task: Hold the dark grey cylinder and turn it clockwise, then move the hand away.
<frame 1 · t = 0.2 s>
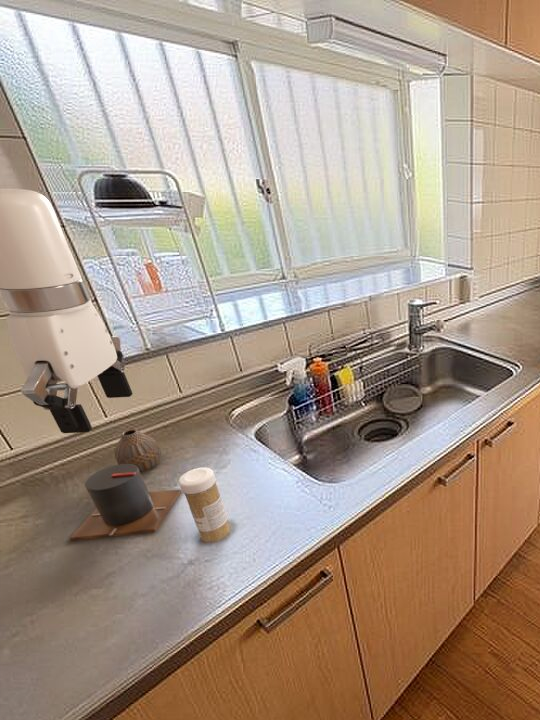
hand: (100, 412, 61), 25 cm above the counter, tool pointing down, fingers open, 9 cm apart
vase: (144, 468, 87), on the counter
turntable: (132, 518, 75), on the counter
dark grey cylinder: (120, 493, 72), point 6 cm above the counter, hinge at 0.0°
sprinkles bottle: (218, 537, 73), on the counter
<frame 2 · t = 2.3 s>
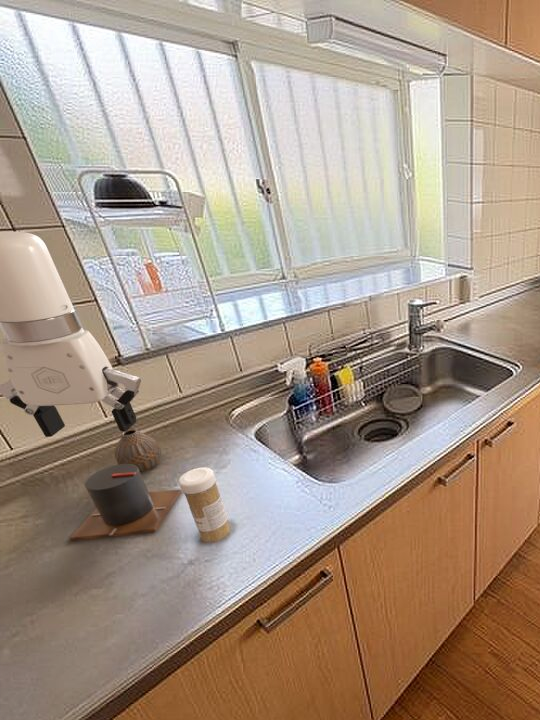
hand: (93, 429, 66), 19 cm above the counter, tool pointing down, fingers open, 9 cm apart
nothing on the counter moved.
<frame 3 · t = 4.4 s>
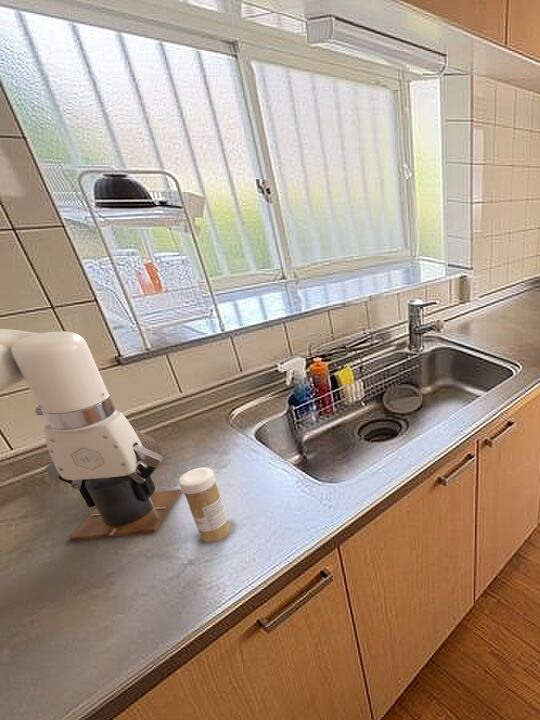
hand: (122, 498, 73), 5 cm above the counter, tool pointing down, fingers closed on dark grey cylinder, 6 cm apart
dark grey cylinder: (120, 493, 72), point 6 cm above the counter, hinge at 0.0°, touching gripper
everything else where it was.
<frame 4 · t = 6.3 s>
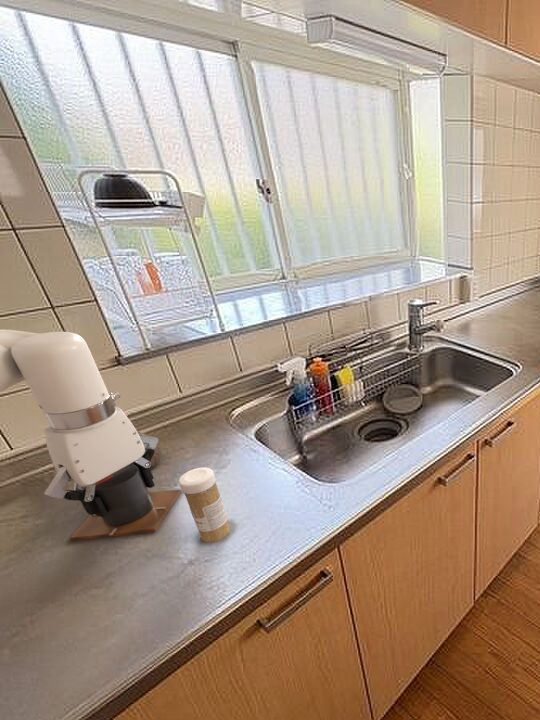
hand: (124, 498, 73), 5 cm above the counter, tool pointing down, fingers closed on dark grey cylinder, 7 cm apart
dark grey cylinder: (120, 493, 72), point 6 cm above the counter, hinge at -123.7°, touching gripper
everything else where it was.
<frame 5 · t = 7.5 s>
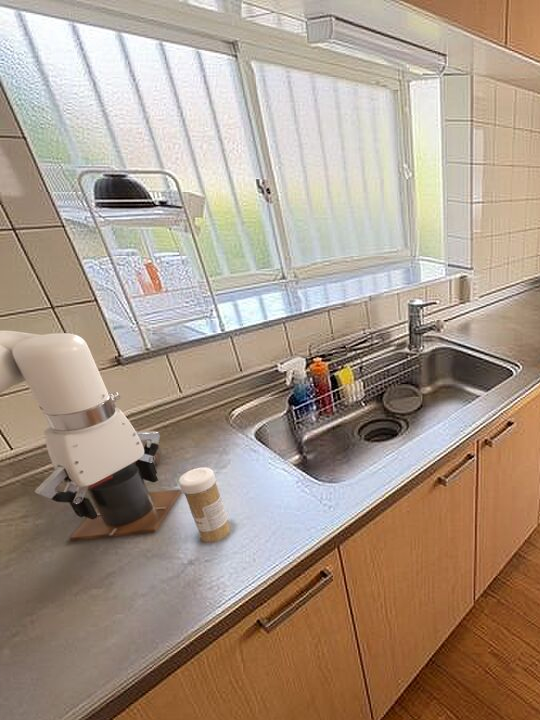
hand: (121, 497, 73), 5 cm above the counter, tool pointing down, fingers open, 9 cm apart
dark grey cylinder: (120, 493, 72), point 6 cm above the counter, hinge at -123.3°
everything else where it was.
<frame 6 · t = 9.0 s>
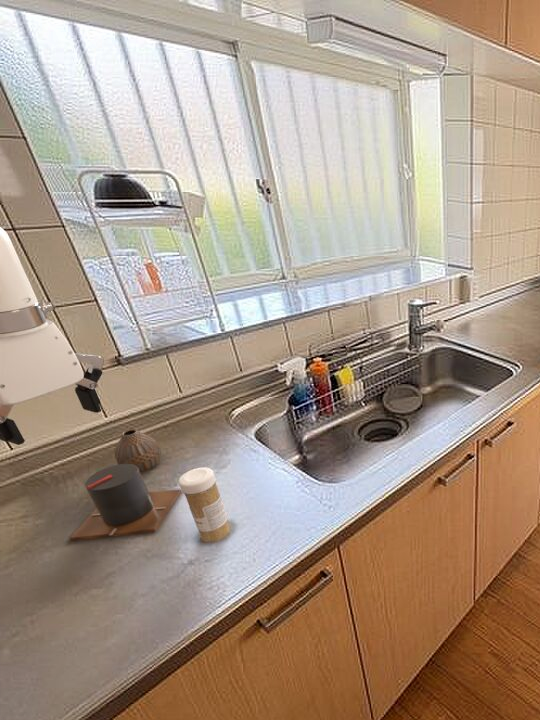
hand: (56, 425, 65), 20 cm above the counter, tool pointing down, fingers open, 9 cm apart
nothing on the counter moved.
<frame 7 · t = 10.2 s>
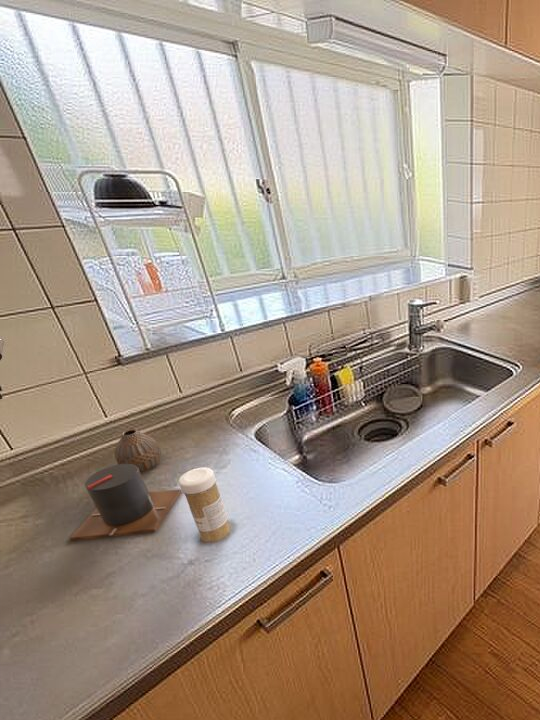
nothing on the counter moved.
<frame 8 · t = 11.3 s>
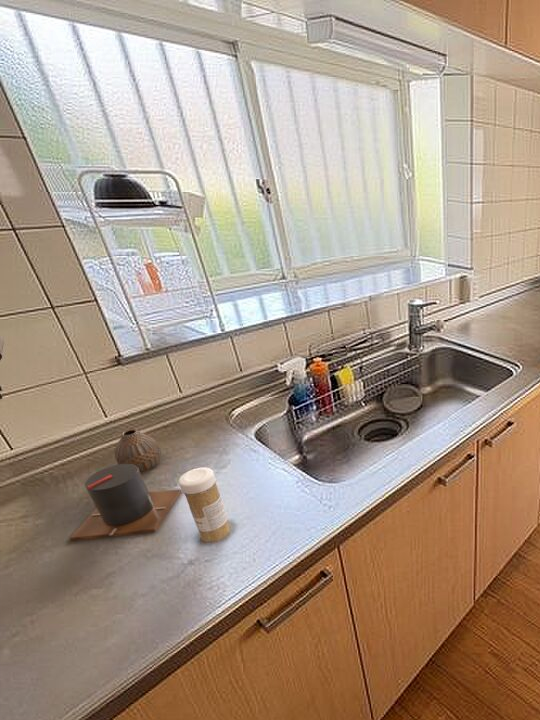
nothing on the counter moved.
at the end: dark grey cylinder at -123° (first picture: +0°); the gripper is holding nothing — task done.
